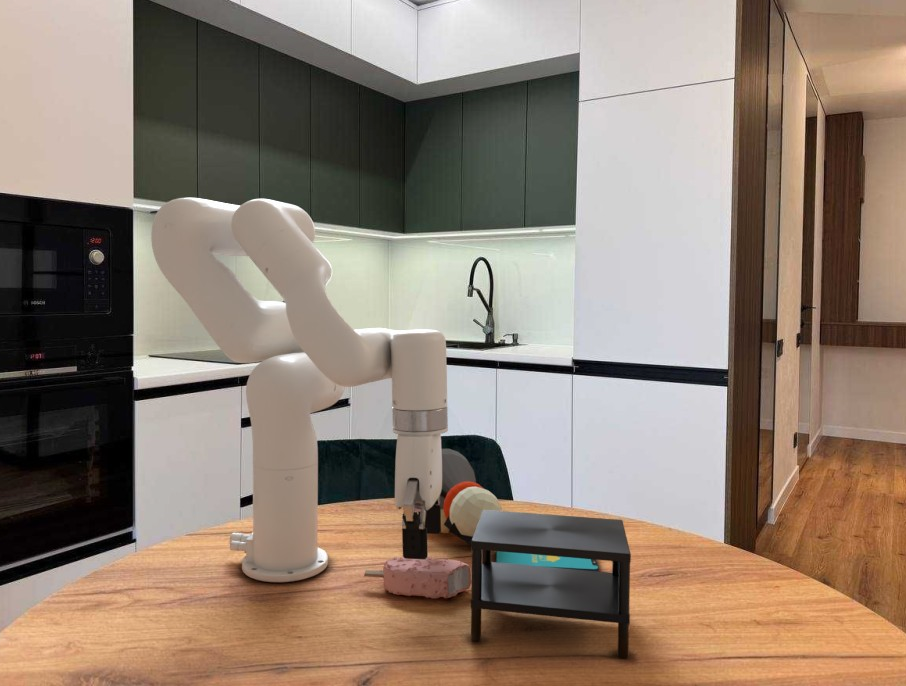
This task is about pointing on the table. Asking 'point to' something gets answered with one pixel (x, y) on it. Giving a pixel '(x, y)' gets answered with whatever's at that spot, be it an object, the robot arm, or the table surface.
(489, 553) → the rack
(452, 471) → the toy
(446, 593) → the ice cream bar
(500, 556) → the smartphone
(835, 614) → the table surface
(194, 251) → the robot arm
